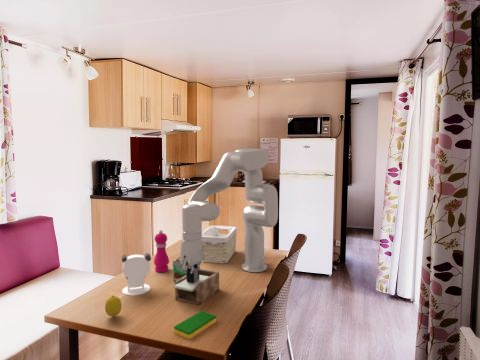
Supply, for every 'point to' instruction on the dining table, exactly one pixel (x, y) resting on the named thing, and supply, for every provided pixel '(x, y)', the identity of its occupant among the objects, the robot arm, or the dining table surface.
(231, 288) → the dining table surface
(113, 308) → the lemon
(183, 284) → the cover plate
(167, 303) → the dining table surface
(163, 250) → the pepper mill
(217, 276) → the slide box
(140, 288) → the panda figurine
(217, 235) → the storage basket
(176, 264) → the food container
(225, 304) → the dining table surface
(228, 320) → the dining table surface
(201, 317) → the dish sponge
